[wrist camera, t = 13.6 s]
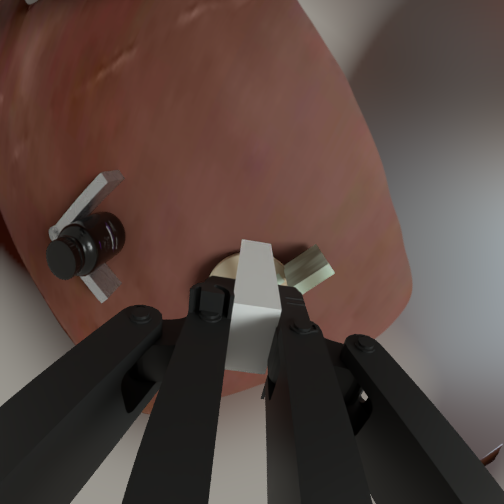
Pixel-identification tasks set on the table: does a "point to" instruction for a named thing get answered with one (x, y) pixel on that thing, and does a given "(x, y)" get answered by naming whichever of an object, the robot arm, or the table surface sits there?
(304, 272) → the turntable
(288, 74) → the table surface
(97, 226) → the supplement bottle
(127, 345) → the robot arm
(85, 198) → the vee block
